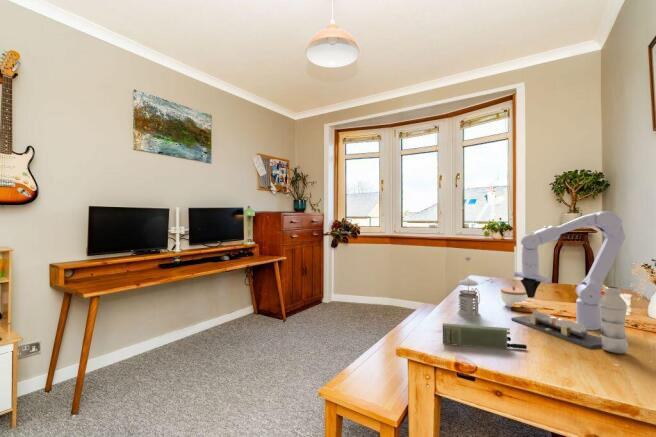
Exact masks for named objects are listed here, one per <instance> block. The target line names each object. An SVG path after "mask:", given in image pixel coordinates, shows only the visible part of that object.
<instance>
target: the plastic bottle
mask: <svg viewBox="0 0 656 437" xmlns="http://www.w3.org/2000/svg"><path fill="white" fill-rule="evenodd" d="M621 291H622V289H621V287H618V286H613V285H605V286H604V290H603V292H604V293H605V294H604V295H603V296H602V298H601V299H600V300H599V308H600V313H601V320H602V321H601V322H602V326H601V329H600V335H599V338H600V339H599V342H600V346H601V347H600V348H602V350H605V351H607V352H610V353H613V354H626V353H627V352H628V350H629V349H628V348H629V342H628V338H627V334H626V333H627V332H626V317H627V316H626V315H627V310H628V305H627V304H626V303H627V302H626V301H625V300H624V299H623V298H622V296H621V294H622V292H621Z"/></svg>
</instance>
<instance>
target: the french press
mask: <svg viewBox="0 0 656 437" xmlns="http://www.w3.org/2000/svg"><path fill="white" fill-rule="evenodd" d="M470 260H471V257H469V256H466V257H465V261H470ZM457 283H458V285H460V286H461V285H462V286H467V289H462V290H459V294H458V300H459V301H458V309H459V310H458V311H457V312H456V315H457V316H459V317H462V318H466V319H467V318H469V319H479V318H481V317H482V314H481V313H479V305H480V301H481V295H480V291H479V289H477V287H475V286H478V285H479V282H477V281H475V280H473V279H470V278H466V279H465V278H464V279H461V280H459V281H458V282H457ZM469 287H475V288H471V290H469Z"/></svg>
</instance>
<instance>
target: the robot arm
mask: <svg viewBox="0 0 656 437" xmlns="http://www.w3.org/2000/svg"><path fill="white" fill-rule="evenodd" d="M583 227H595V228H597V229H598V230H599V231H600V232H601V234H602V235H603V237H604V241H603V243H602V245H601V246H600V248H599V250H598V252H597V255H596V256H595V259H594V261H593V263H592V265H591V267H590V269H589V271H588V273H587V275H586V276H585V277H584V278H583V280H582V281H581V283H579V284H577V286H575V294H576V295H577V296H578V297H577V299H576V300H575V301H576V302H575V304H576V306H575V308H576V309H575V312H576V313H575V316H576V320H575V321H573V322H574V323H580V324H583V325H585V326H586V327H587V328H588V331H597V330H601V326H602V322H601V321H602V320H601V313H600V308H599V300H600V299H601V298H602V297H603V296H602V292H603V291H604V282H605V279H606V277H607V275H608V273H609V271H610V270H611V268H612V265H613V264H614V261H615V259H616V257H617V256H618V254H619V252H620V250H621V247H622V246H623V243H624V241H625V239H626V235H625V231H624V228H623V220H622V219H621V217H619V215H618V214H617V213H616V212H614V211H609V210H606V211H603V210H601V211H595V212H594V213H589V214H586V215H582V216H579V217H577V218H575V219H572V220H570V221H568V222H565V223H563V224H561V225H558V226H554V225H549V226H548V225H544V226H543V228H541V229H538V230H536V231H534V230H533V231H531V232H530V233H531V234H525V235H523V236H522V238H521V240H520V244H521V245H522V248H521V250H522V251H521V270H522V271H521V272H519V271H514V272H513V277H514V278H516V277H517V278H522V279H520V282H521V283H522V285H523V287H524V288H523V289H524V290H526V293H527V298H530V299H532V298H535V296H536V292H537V289H538V287H539V286H540V284H541V283H544V284H547V283H550V277H547V276H544V275H541V274H540V272H539V271H540V266H539V262H540V260H539V250H538V248H539V246H540V245H541V246H543V245H546V244H549V243H551V242H554V241H556V240H558V239H560V237H561V236H562V234H566V233H568V232H571V231H574V230H577V229H580V228H583Z"/></svg>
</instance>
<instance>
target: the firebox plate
mask: <svg viewBox="0 0 656 437" xmlns="http://www.w3.org/2000/svg"><path fill="white" fill-rule="evenodd" d="M547 314H548V315H551V316H553V315H552V314H549V313H547ZM511 321H513V322H516V323H518V324H521V325H524V326H526V327H528V328H529V327H530V328H532V329H535V330H537V331H539V332H540V331H541V332H543V333H545V334H547V335H551V336H554V337H556V338H559V339H561V340H563V341H564V340H565V341H567V342H571V343H572V344H576V345H578V346H581V347H584V348H586V349H590V350H593V349H599V348H602V347H601V346H600V342H599V339H600V336H599V337H598V336H595V335H593V334H590V333H588V334H587V336H586V337H580V336H577V335H574V334H571V333H570V327H568V326H565V325H564V326H561V330H559V329H556V328H553V327H551V326H548V325H545V324H542V323H539V322H538V317H537V316H534V315H533V316H532V314H530V315H529V314H528V315H522V316H515V317H514V316H513V317H511ZM578 324H580V323H578ZM581 325H583V324H581ZM584 326H585V325H584Z"/></svg>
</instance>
